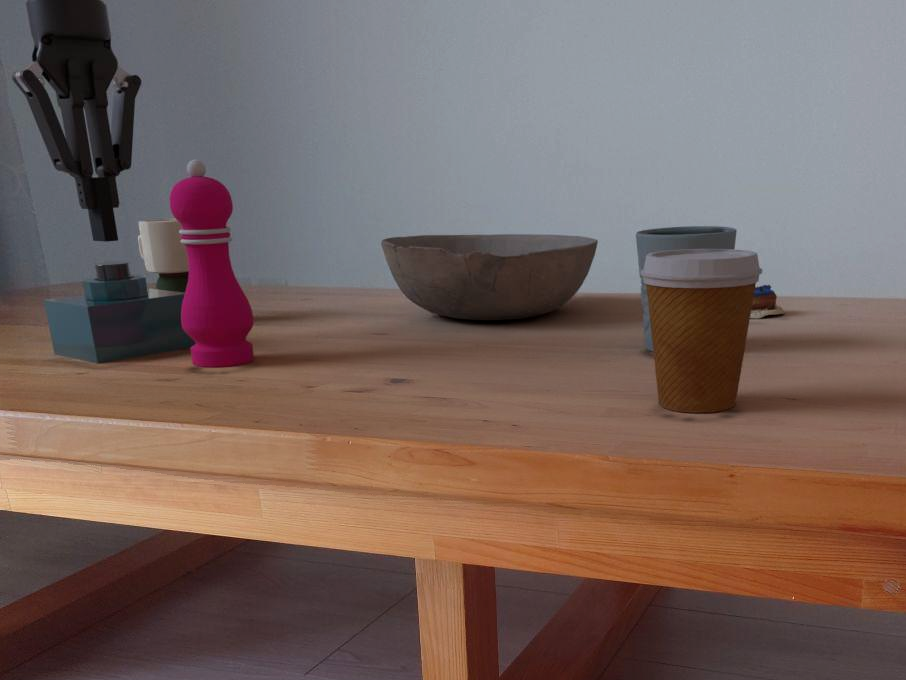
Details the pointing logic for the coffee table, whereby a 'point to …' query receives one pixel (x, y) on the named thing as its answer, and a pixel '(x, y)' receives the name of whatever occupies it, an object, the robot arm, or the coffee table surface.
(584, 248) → the bowl
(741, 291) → the disposable coffee cup
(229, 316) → the pepper mill
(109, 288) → the blue-grey boxy piece
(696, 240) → the grey cup
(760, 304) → the dessert
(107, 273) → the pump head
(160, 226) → the character mug
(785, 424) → the coffee table surface
